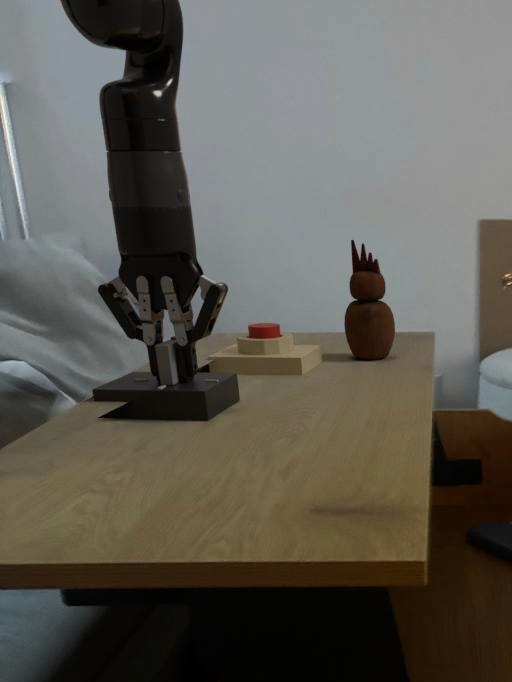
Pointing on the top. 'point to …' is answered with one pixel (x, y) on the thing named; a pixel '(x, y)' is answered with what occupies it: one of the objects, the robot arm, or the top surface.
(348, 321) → the wooden figurine
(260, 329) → the stop button
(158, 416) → the panel
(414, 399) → the top surface
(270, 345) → the stop box
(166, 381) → the gray flat block
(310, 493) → the top surface
